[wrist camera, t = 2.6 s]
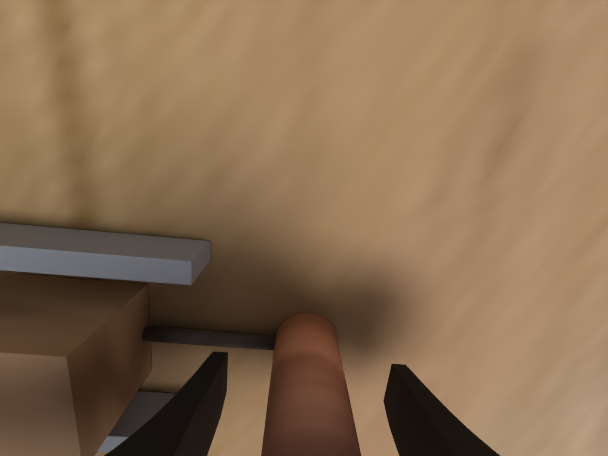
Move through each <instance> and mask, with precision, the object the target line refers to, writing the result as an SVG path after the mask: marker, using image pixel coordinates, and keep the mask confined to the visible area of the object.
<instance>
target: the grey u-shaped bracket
mask: <svg viewBox="0 0 608 456" xmlns="http://www.w3.org/2000/svg"><path fill="white" fill-rule="evenodd" d="M210 245H211V241H205V240H193V239H182V238H170V237H159V236H147V235H136V234H124V233H113V232H101V231H90V230H78V229H67V228H55V227H44V226H32V225H21V224H9V223H0V270H6V271H18V272H31V273H44V274H56V275H69V276H81V277H94V278H107V279H119V280H132V281H145V282H157V283H170V284H182V285H192V284H193V282H194V281H195V280H196V279H197V277H198V276H199V275H200V273H201V272H202V271H203V270H204V268H205V267H206V266H207V264H208V263H209V262H210ZM174 395H175V393H159V392H143V391H137V393H136V394H135V396H134V397H133V399H132V400H131V402H130V403H129V405H128V406H127V408H126V409H125V411H124V412H123V414H122V415H121V417H120V418H119V420H118V421H117V423H116V424H115V426H114V427H113V429H112V430H111V432H110V433H109V435H108V436H107V438H106V439H105V441H104V442H103V444H102V445H101V447H100V448H99V450H98V451H97V452H110V451H111V450H113V449H114V448H115V447H117V446H118V445H119V444H121V443H122V442H123V441H124V440H126V439H127V438H128V437H129V436H130V435H132V434H133V433H134V432H135V431H137V430H138V429H139V428H140V427H141V426H143V425H144V424H145V423H146V422H147V421H148V420H149V419H151V418H152V417H153V416H154V415H155V414H156V413H157V412H158V411H159V410H160V409H161V408H162V407H163V406H164V405H165V404H166V403H167V402H168V401H169V400H170V399H171V398H172V397H173V396H174Z"/></svg>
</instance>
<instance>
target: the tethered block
mask: <svg viewBox="0 0 608 456" xmlns="http://www.w3.org/2000/svg"><path fill="white" fill-rule="evenodd" d="M151 342H164V343H178V344H192V345H206V346H221V347H235V348H249V349H263V350H274V354H273V363H272V371H271V379H270V388H269V396H268V404H267V413H266V421H265V429H264V438H263V446H262V454H261V456H361V453H360V448H359V443H358V438H357V433H356V428H355V423H354V419H353V414H352V409H351V404H350V399H349V394H348V389H347V385H346V380H345V375H344V370H343V365H342V360H341V355H340V350H339V346H338V341H337V336H336V332H335V329H334V327H333V326H332V324H331V323H330V322H329V321H328V320H327V319H325V318H324V317H322V316H320V315H317V314H313V313H300V314H296V315H293V316H291V317H289V318H288V319H286V320H285V321H284V322H283V323H282V324H281V325H280V327H279V328H278V330H277V333H276V335H263V334H249V333H236V332H222V331H209V330H195V329H181V328H168V327H154V326H150V319H149V299H148V284H140V283H128V282H115V281H103V280H90V279H78V278H65V277H53V276H40V275H28V274H18V275H15V276H13V277H11V278H9V279H6V280H4V281H2V282H0V456H95V454H96V453H97V451H98V450H99V448H100V447H101V445H102V444H103V442H104V441H105V439H106V438H107V436H108V435H109V433H110V432H111V430H112V429H113V427H114V426H115V424H116V423H117V421H118V420H119V418H120V417H121V415H122V414H123V412H124V411H125V409H126V408H127V406H128V405H129V403H130V402H131V400H132V399H133V397H134V396H135V394H136V393H137V391H138V390H139V388H140V387H141V385H142V384H143V382H144V381H145V379H146V378H147V376H148V375H149V373H150V372H151V370H152V357H151Z"/></svg>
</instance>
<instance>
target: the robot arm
mask: <svg viewBox="0 0 608 456" xmlns="http://www.w3.org/2000/svg"><path fill="white" fill-rule="evenodd" d="M227 364H228V352H212V353H211V354H210V355H209V357H208V358H207V359H206V361H205V362H204V363H203V364H202V365H201V367H200V368H199V369H198V370H197V371H196V373H195V374H194V375H193V376H192V377H191V378H190V379H189V380H188V382H187V383H186V384H185V385H184V386H183V387H182V388H181V389H180V390H179V391H178V392H177V393H176V394H175V395H174V396H173V397H172V398H171V399H170V400H169V401H168V402H167V403H166V404H165V405H164V406H163V407H162V408H161V409H160V410H159V411H158V412H157V413H156V414H155V415H154V416H153V417H152V418H151V419H149V420H148V421H147V422H146V423H145V424H144V425H143V426H141V427H140V428H139V429H138V430H137V431H135V432H134V433H133V434H132V435H130V436H129V437H128V438H127V439H126V440H124V441H123V442H122V443H121V444H119V445H118V446H117V447H115V448H114V449H113V450H111V451H110V452H109V453H107V454H106V455H105V456H207V454H208V451H209V448H210V446H211V443H212V440H213V437H214V434H215V431H216V428H217V425H218V422H219V419H220V417H221V412H222V408H223V404H224V400H225V396H226V391H227ZM384 405H385V409H386V414H387V418H388V422H389V426H390V430H391V433H392V435H393V438H394V441H395V444H396V447H397V450H398V453H399V456H500V455H499V454H497V453H496V452H495V451H494V450H492V449H491V448H490V447H489V446H488V445H486V444H485V443H484V442H483V441H482V440H481V439H479V438H478V437H477V436H476V435H475V434H474V433H472V432H471V431H470V430H469V429H468V428H467V427H466V426H465V425H464V424H463V423H462V422H461V421H459V420H458V419H457V418H456V417H455V416H454V415H453V414H452V413H451V412H450V411H449V410H448V409H447V408H446V407H445V406H444V405H443V404H442V403H441V402H440V401H439V400H438V399H437V398H436V397H435V396H434V395H433V394H432V393H431V392H430V390H429V389H428V388H427V387H426V386H425V385H424V384H423V383H422V382H421V381H420V380H419V379H418V378H417V377H416V375H415V374H414V373H413V372H412V371H411V370H410V369H409V368H408V367H407V366H406V365H401V364H392V365H391V370H390V374H389V379H388V383H387V388H386V392H385V397H384Z"/></svg>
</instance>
